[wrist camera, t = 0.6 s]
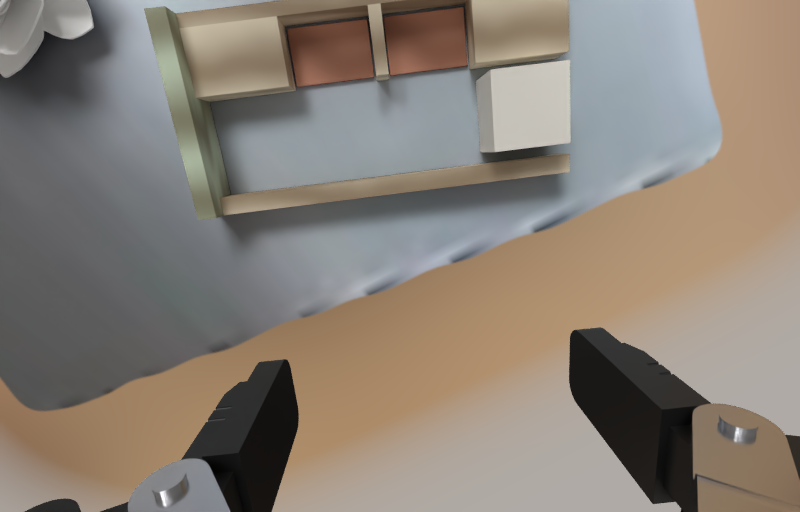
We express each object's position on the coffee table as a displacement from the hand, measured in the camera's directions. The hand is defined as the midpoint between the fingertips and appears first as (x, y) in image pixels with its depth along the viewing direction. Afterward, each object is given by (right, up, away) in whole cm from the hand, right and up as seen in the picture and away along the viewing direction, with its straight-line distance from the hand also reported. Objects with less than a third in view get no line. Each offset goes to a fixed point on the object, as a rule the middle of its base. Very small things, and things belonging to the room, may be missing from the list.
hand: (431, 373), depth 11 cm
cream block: (+9, +16, +24) cm, 30 cm away
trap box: (-3, +17, +23) cm, 28 cm away
